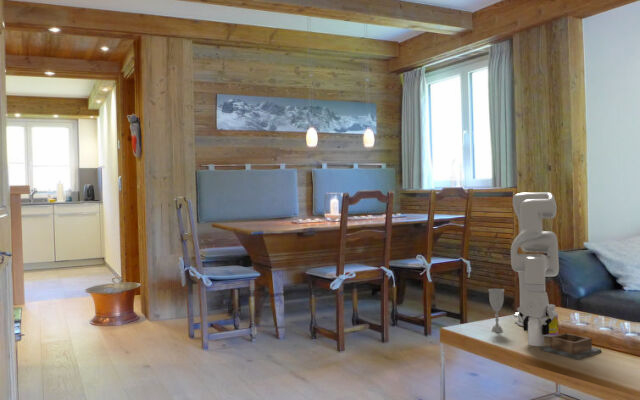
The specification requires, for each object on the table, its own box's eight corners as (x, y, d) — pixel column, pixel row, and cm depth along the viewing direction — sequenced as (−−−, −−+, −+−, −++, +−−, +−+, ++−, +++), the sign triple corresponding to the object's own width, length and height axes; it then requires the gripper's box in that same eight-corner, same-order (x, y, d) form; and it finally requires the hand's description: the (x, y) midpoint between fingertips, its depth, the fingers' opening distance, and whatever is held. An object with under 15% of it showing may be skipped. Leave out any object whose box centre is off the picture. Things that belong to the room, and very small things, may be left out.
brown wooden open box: (540, 349, 205) (540, 336, 205) (564, 343, 213) (563, 330, 213) (577, 359, 192) (577, 345, 192) (601, 352, 200) (600, 338, 200)
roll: (526, 314, 212) (529, 312, 216) (526, 345, 212) (530, 341, 216) (542, 316, 208) (545, 313, 213) (542, 347, 208) (545, 343, 213)
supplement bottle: (560, 337, 221) (559, 306, 221) (542, 337, 223) (542, 306, 222) (556, 333, 228) (555, 303, 228) (539, 333, 229) (539, 303, 229)
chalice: (495, 328, 239) (494, 287, 239) (508, 331, 234) (508, 289, 234) (485, 331, 235) (484, 290, 235) (499, 334, 229) (498, 291, 229)
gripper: (510, 286, 217) (511, 329, 218) (549, 291, 203) (550, 338, 203) (522, 284, 221) (523, 326, 222) (560, 289, 207) (561, 335, 207)
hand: (536, 331), depth 212 cm, fingers open, 7 cm apart
